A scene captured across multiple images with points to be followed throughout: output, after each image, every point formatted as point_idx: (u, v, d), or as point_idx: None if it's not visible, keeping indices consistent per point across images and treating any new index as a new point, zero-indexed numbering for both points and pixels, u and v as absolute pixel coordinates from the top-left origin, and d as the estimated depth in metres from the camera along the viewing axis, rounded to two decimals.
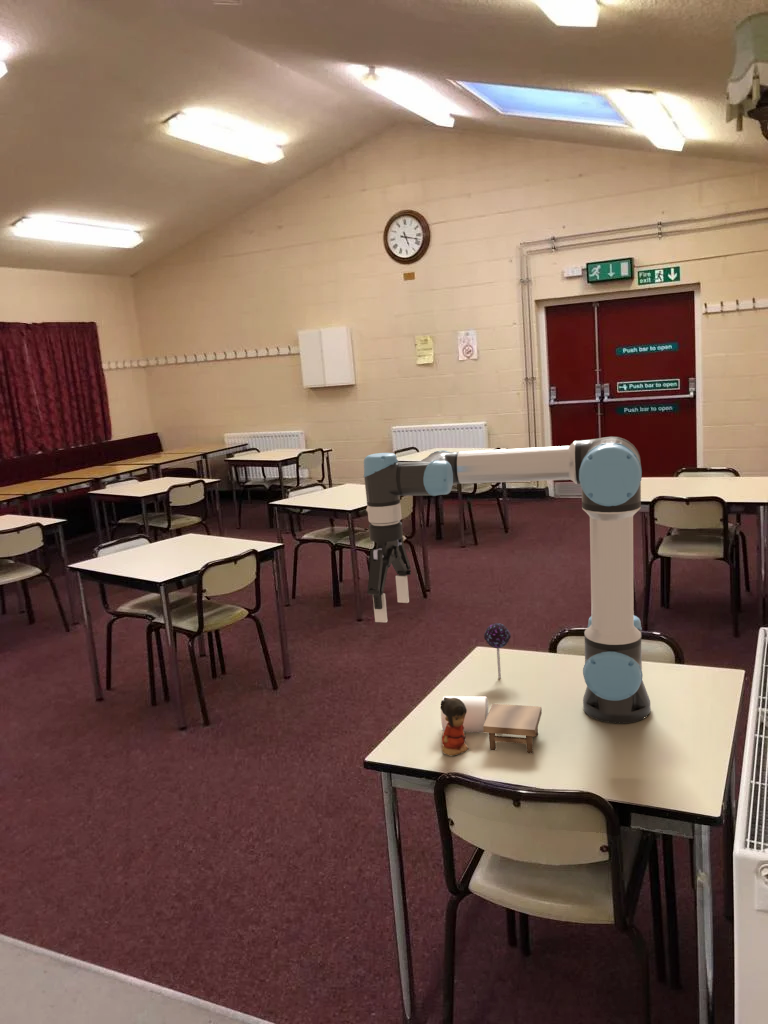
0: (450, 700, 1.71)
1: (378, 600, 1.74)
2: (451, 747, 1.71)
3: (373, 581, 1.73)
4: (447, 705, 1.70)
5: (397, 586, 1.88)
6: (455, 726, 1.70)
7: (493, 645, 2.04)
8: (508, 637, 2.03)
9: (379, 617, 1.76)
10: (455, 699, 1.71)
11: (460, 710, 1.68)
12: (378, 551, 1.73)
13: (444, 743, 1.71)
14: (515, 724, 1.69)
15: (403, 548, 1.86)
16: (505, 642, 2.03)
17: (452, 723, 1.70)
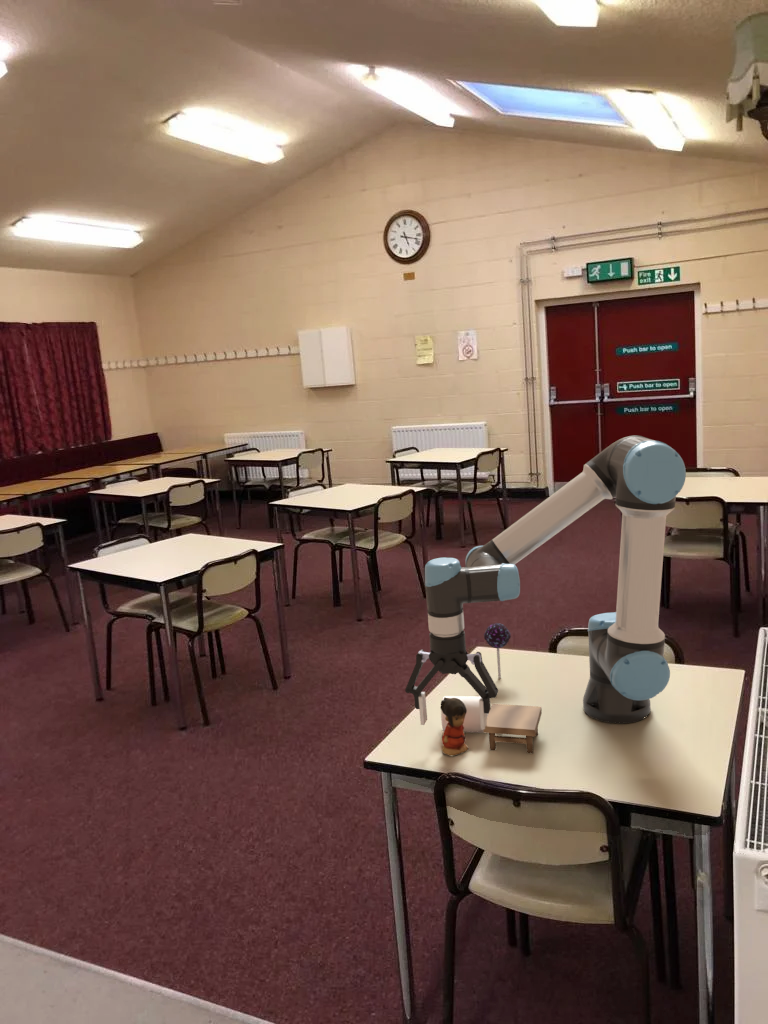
0: (450, 700, 1.71)
1: None
2: (451, 747, 1.71)
3: None
4: (447, 705, 1.70)
5: None
6: (455, 726, 1.70)
7: (493, 645, 2.04)
8: (508, 637, 2.03)
9: None
10: (455, 699, 1.71)
11: (460, 710, 1.68)
12: None
13: (444, 743, 1.71)
14: (515, 724, 1.69)
15: (478, 670, 1.66)
16: (505, 642, 2.03)
17: (452, 723, 1.70)
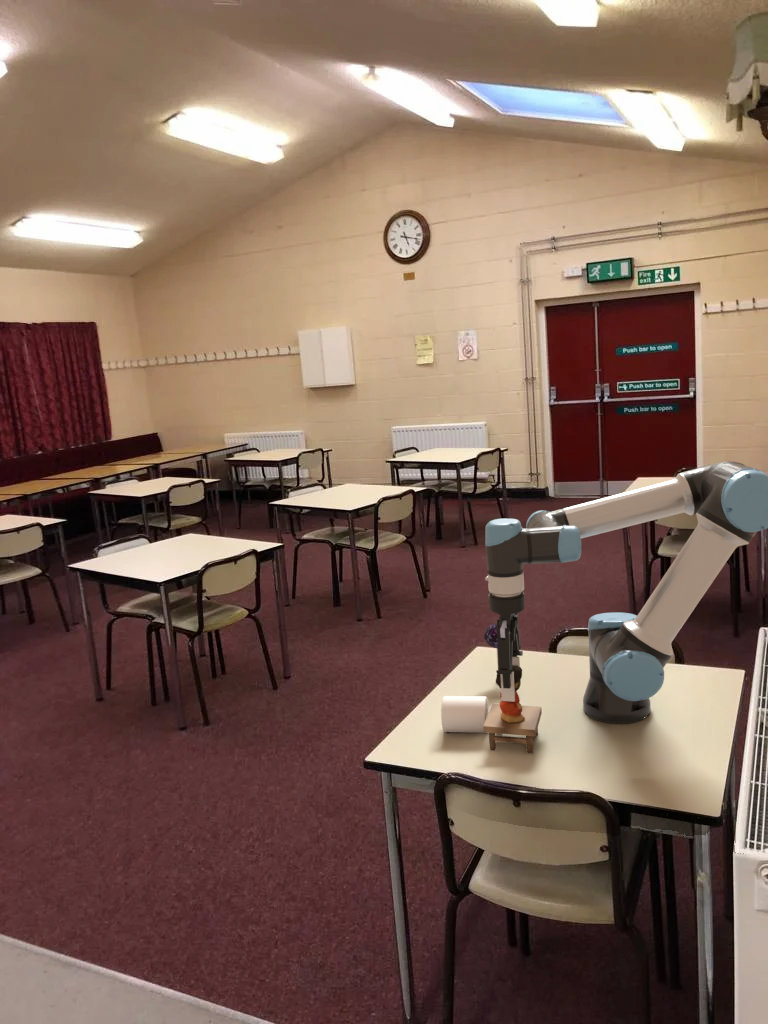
0: None
1: (508, 679, 1.66)
2: None
3: (503, 661, 1.64)
4: None
5: None
6: None
7: (493, 645, 2.04)
8: None
9: (507, 696, 1.68)
10: None
11: None
12: (505, 631, 1.62)
13: (519, 711, 1.70)
14: (515, 724, 1.69)
15: (517, 622, 1.74)
16: None
17: (519, 686, 1.71)
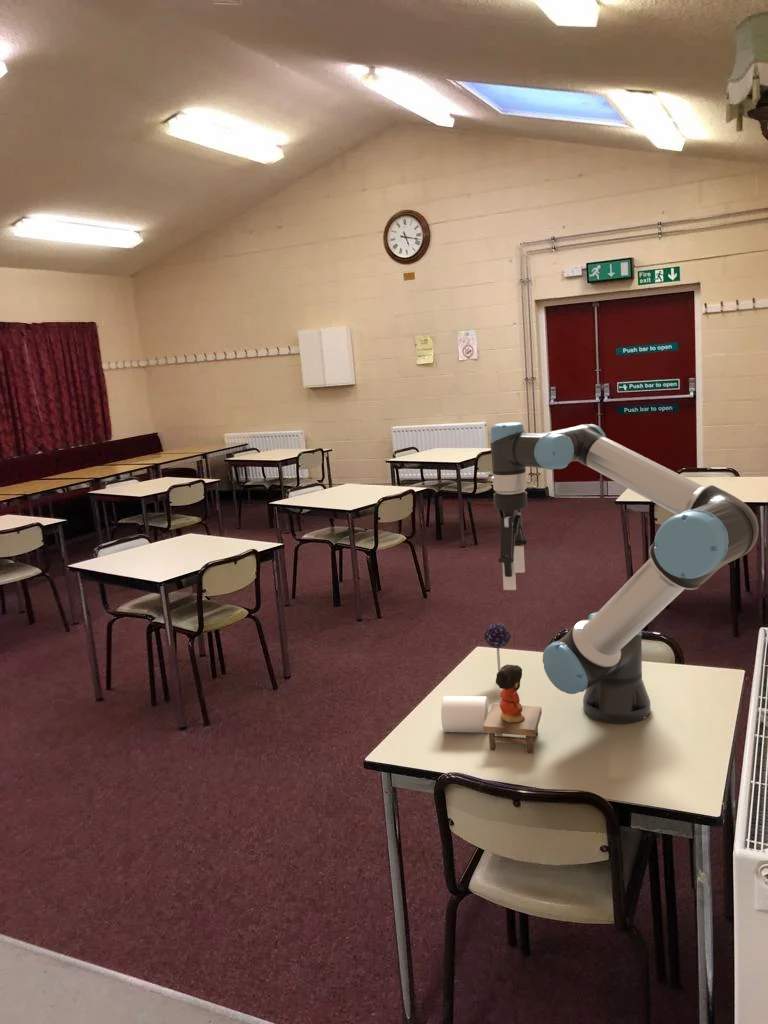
0: (509, 667, 1.70)
1: (509, 567, 1.75)
2: None
3: (506, 548, 1.74)
4: (513, 672, 1.69)
5: (513, 556, 1.90)
6: None
7: (493, 645, 2.04)
8: (508, 637, 2.03)
9: (508, 585, 1.77)
10: (508, 665, 1.71)
11: None
12: (509, 519, 1.75)
13: (519, 711, 1.70)
14: (515, 724, 1.69)
15: (521, 518, 1.87)
16: (505, 642, 2.03)
17: (519, 686, 1.71)
